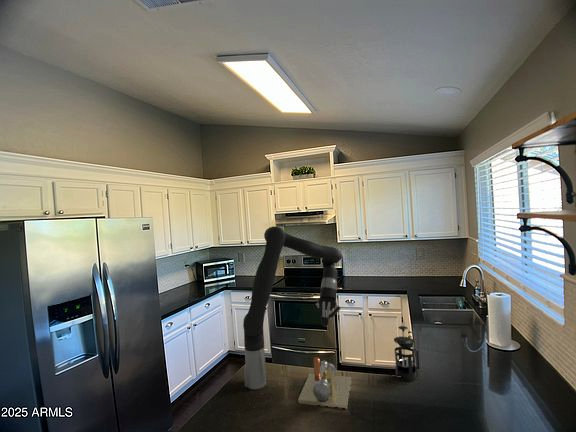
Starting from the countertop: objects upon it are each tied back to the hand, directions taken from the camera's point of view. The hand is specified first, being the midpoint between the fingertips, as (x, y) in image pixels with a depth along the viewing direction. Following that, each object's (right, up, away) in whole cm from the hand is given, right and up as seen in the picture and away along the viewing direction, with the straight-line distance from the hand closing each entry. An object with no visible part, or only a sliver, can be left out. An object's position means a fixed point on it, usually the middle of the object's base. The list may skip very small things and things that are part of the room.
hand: (324, 326), depth 137 cm
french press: (+39, -25, +5) cm, 47 cm away
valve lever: (-3, -15, -11) cm, 19 cm away
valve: (0, -27, -3) cm, 27 cm away
